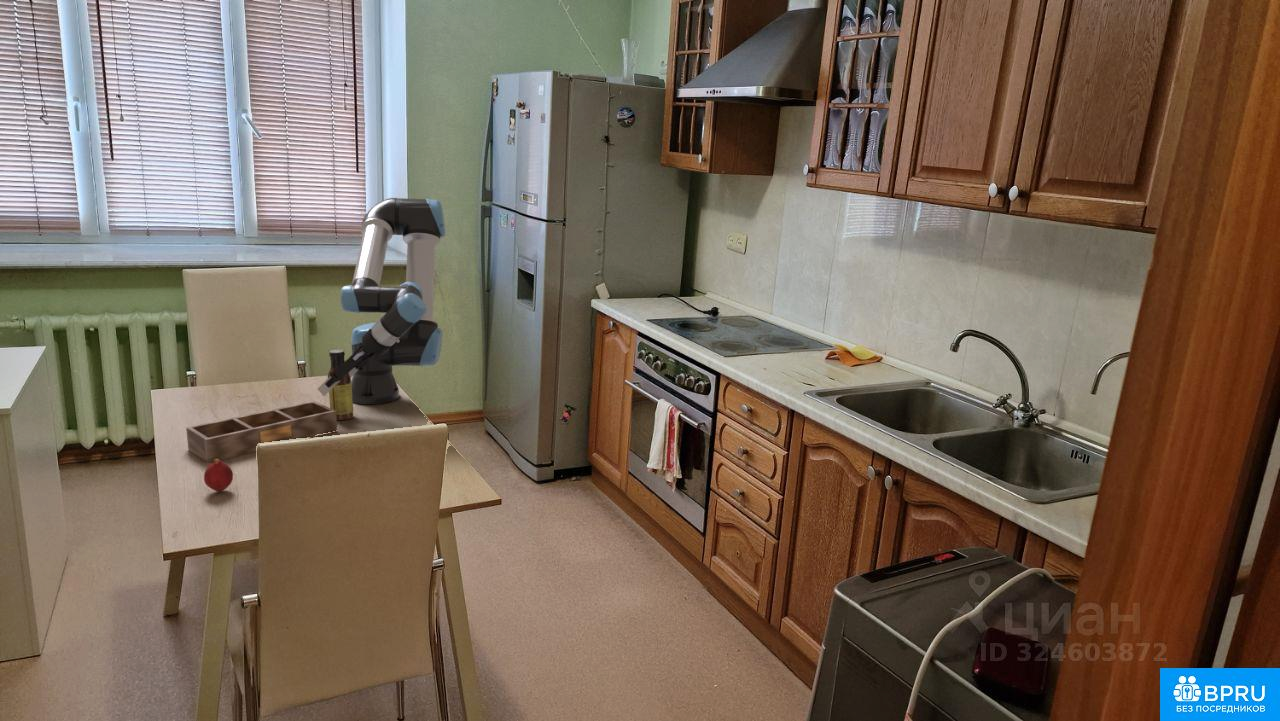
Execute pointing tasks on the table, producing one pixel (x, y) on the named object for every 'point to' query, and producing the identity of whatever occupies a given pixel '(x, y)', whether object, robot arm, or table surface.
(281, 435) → the wooden compartment tray
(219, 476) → the onion
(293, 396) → the table surface
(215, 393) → the table surface
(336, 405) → the sauce bottle
